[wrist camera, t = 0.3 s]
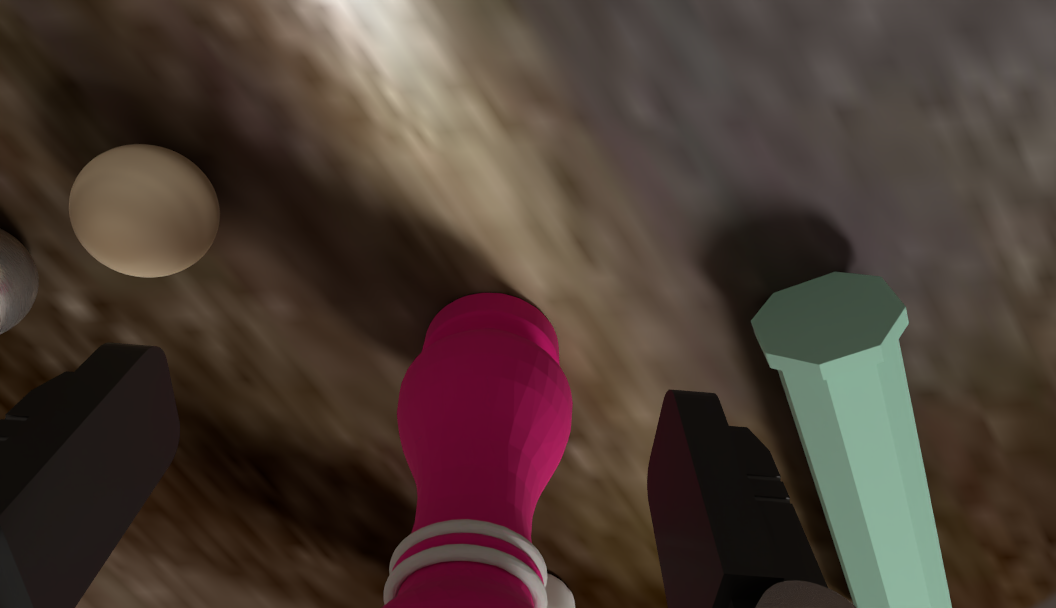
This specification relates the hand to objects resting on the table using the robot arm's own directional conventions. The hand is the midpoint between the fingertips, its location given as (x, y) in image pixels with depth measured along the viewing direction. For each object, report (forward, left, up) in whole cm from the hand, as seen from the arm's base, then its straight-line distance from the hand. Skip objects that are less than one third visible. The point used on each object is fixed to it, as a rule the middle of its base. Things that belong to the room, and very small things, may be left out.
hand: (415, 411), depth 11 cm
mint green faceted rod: (+15, +22, -18) cm, 33 cm away
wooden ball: (+6, -12, -18) cm, 22 cm away
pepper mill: (+11, +2, -18) cm, 21 cm away
